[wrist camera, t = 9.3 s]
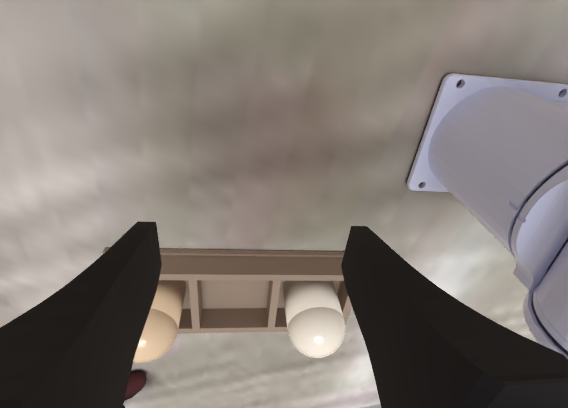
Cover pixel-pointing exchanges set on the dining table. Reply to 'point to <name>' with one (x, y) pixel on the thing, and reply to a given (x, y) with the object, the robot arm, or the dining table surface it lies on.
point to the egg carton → (245, 286)
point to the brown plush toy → (135, 384)
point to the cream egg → (313, 317)
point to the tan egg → (161, 321)
